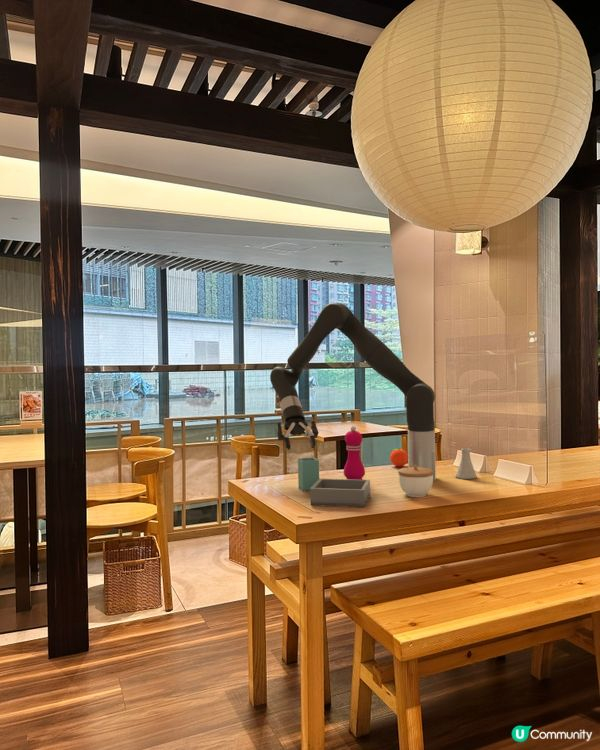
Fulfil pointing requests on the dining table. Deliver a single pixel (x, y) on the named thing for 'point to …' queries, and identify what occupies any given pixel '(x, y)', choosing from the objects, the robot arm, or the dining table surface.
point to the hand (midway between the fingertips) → (301, 447)
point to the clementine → (398, 457)
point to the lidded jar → (415, 480)
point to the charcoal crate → (340, 492)
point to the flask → (466, 466)
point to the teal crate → (307, 473)
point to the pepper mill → (354, 455)
